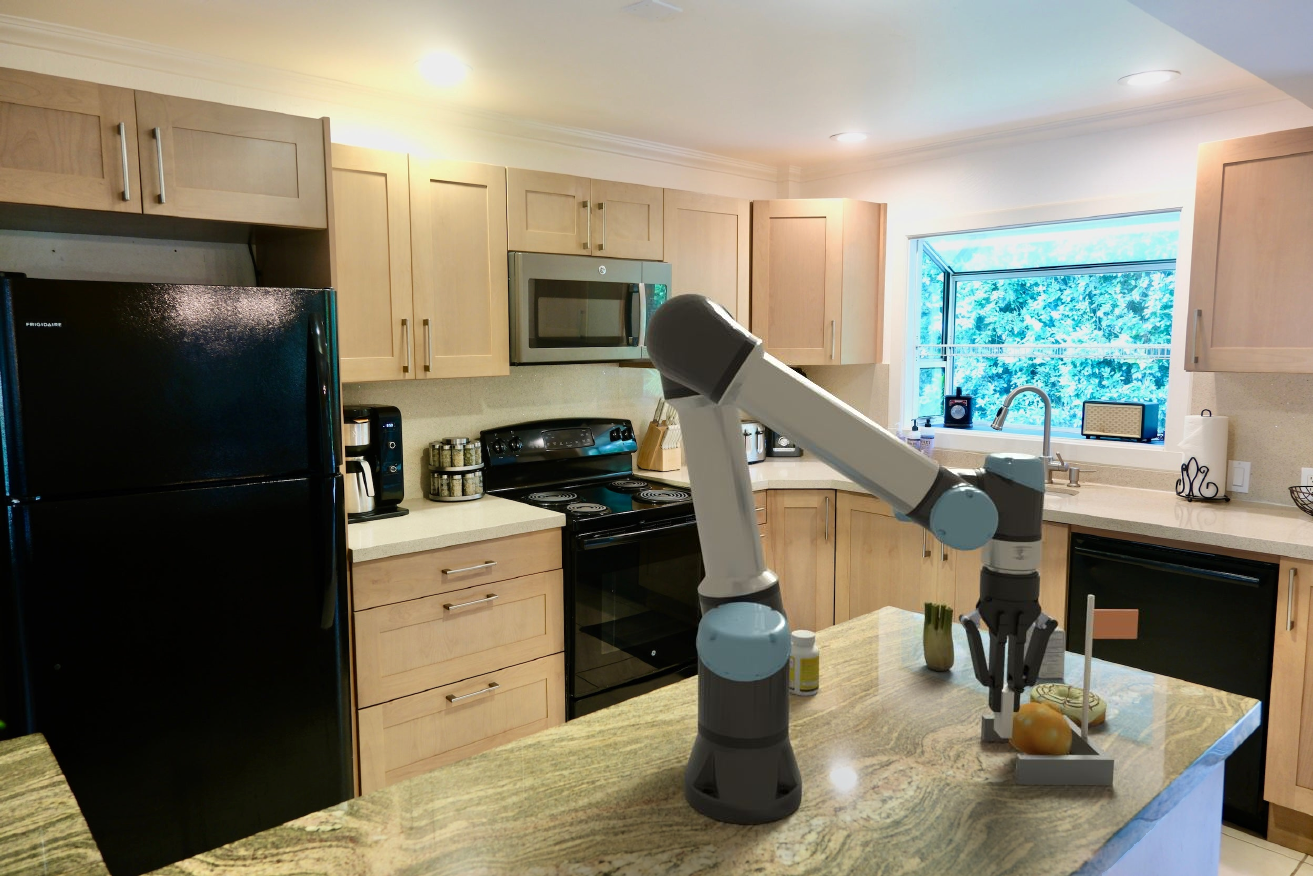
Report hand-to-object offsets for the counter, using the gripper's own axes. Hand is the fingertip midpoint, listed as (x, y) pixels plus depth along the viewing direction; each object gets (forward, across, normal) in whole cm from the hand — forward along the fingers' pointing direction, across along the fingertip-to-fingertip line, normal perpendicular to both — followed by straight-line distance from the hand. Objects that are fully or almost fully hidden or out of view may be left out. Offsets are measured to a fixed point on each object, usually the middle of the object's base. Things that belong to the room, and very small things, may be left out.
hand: (1002, 733), depth 115 cm
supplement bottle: (+4, -24, +24) cm, 34 cm away
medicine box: (+4, +20, +33) cm, 39 cm away
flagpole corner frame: (+4, +9, 0) cm, 9 cm away
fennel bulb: (+4, +2, +34) cm, 34 cm away
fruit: (+4, +5, 0) cm, 6 cm away
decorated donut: (+4, +16, +15) cm, 22 cm away
